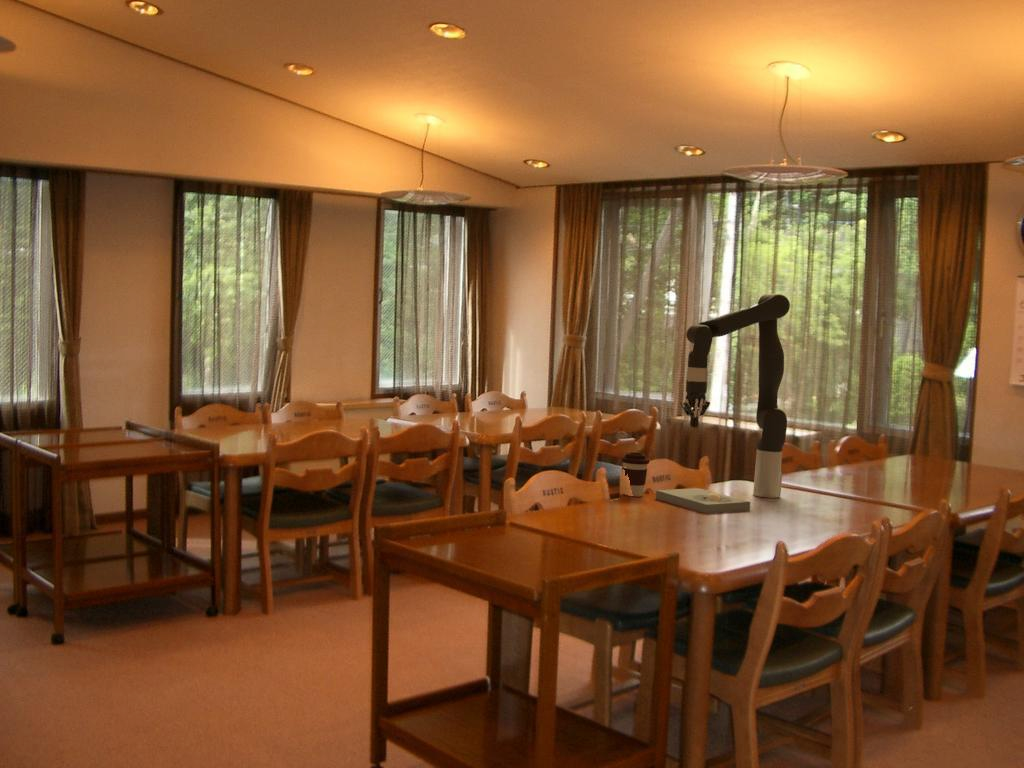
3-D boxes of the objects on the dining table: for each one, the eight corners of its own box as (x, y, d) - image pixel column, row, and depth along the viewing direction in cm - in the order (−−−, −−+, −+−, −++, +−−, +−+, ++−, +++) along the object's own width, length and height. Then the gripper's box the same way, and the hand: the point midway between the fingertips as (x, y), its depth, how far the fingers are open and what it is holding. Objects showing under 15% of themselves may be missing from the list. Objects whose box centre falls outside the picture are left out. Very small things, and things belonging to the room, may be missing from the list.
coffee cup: (646, 493, 378) (649, 452, 377) (647, 498, 368) (650, 456, 367) (618, 491, 379) (621, 450, 378) (618, 496, 369) (621, 454, 368)
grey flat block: (698, 496, 379) (699, 488, 379) (749, 510, 357) (750, 501, 357) (655, 498, 369) (656, 490, 368) (705, 513, 347) (706, 504, 346)
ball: (715, 511, 359) (708, 500, 362) (725, 502, 357) (718, 491, 361) (707, 509, 356) (700, 498, 359) (718, 499, 354) (710, 489, 357)
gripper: (702, 378, 384) (700, 425, 385) (676, 379, 377) (673, 426, 378) (717, 380, 378) (714, 428, 379) (690, 380, 371) (687, 429, 372)
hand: (694, 427), depth 379 cm, fingers closed
